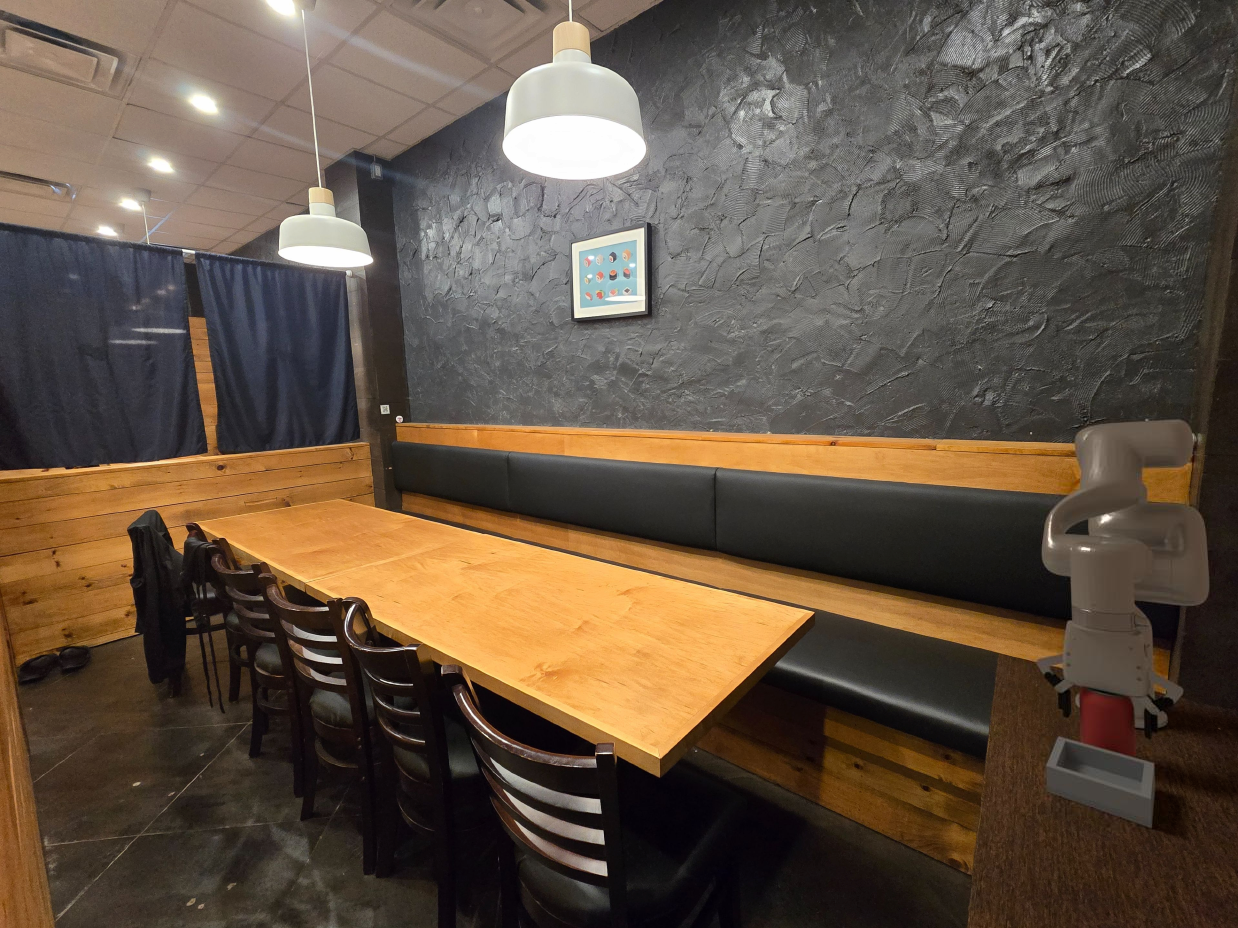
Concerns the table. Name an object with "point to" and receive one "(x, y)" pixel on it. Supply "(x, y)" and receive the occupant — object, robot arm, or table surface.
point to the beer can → (1107, 721)
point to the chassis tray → (1102, 780)
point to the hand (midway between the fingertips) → (1106, 724)
